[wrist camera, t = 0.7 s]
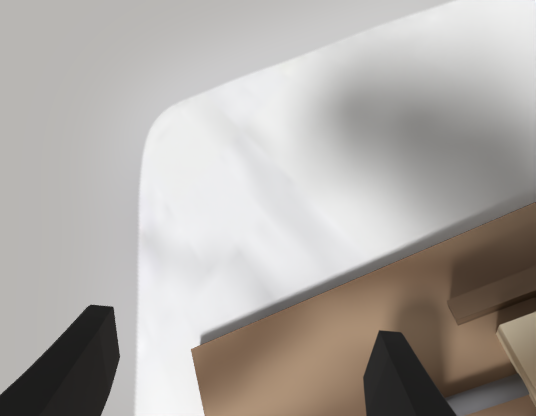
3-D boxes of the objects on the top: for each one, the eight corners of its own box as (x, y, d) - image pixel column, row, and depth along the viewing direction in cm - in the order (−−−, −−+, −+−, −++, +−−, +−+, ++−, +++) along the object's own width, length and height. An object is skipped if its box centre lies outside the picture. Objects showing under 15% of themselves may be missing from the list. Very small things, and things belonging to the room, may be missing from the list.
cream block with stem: (670, 403, 19) (725, 409, 15) (409, 481, 22) (393, 505, 18) (597, 296, 22) (627, 275, 17) (369, 380, 24) (347, 378, 20)
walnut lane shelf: (863, 524, 17) (947, 554, 14) (265, 656, 23) (234, 696, 20) (596, 181, 24) (614, 153, 21) (198, 350, 30) (168, 346, 27)
